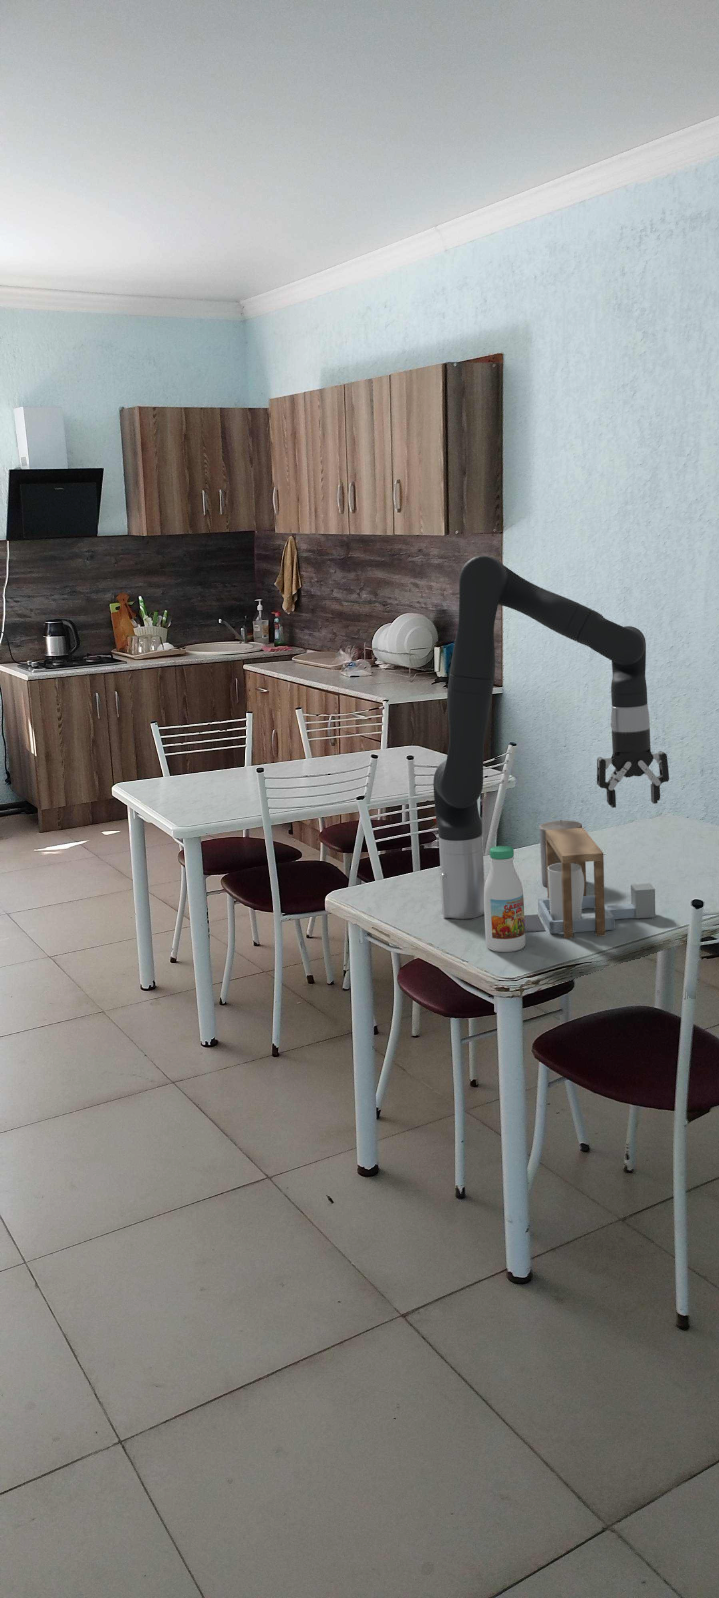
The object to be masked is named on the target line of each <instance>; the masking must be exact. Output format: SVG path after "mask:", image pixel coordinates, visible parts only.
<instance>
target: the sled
mask: <svg viewBox="0 0 719 1598" xmlns="http://www.w3.org/2000/svg"><path fill="white" fill-rule="evenodd" d="M589 908H590V909H591V908H592V909H593V908H595V894H594V895H586V896H583V901H582V909H589ZM537 909H538V913H539V915H540V916H541V918H542V921H543V922H544V924H545V926H546V928H547V930H548V933H549V934H550V935H552V934H563V920H557V921H553V920H552V918H551V916H550V901H549V899H548V898H539V899H538V898H537ZM633 918H635V919H644V918H645V919H646V918H656V888H655V887H654V886H653V885H652V884H651V883H649V882H648V883H637V884H630V903H623V904H610V905H607V904H606V903H605V931H608V930H615V929H616V920H622V919H633ZM572 920H573V933H579V932H580V933H581V932H594V931H595V917H588V918H587V917H586V918H582V919H572ZM595 932H596V931H595Z"/></svg>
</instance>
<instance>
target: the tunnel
mask: <svg viewBox="0 0 719 1598" xmlns="http://www.w3.org/2000/svg"><path fill="white" fill-rule="evenodd" d="M545 833H546V862H547V887H546V889H547V899H549V884H548V866H550V865H552V864H555V852H556V854H557V856H558V857H559V859H560V860H561V873H562V904H563V933H562V934H563V938H564V939H573V938H574V932H573V920H572V887H571V863H575V862H577V864H578V865H580V866H581V869H582V872H583V876H584V894H583V896H587V873H586V872H587V869H586V867H587V866H586V863H588V862H593V878H594V879H593V880H594V881H593V882H594V883H593V884H594V887H593V888H594V895H595V907H594V918H595V935H596V936H597V937H606V930H605V904H606V903H605V867H604V865H605V861H604V852H603V850H601V848H600V847H599V846H598V845H597V843H596V842H595V841H594V839H593V838H592V837H591V836H590V834H589V833H588V832H587V830H586V829H585V828H584V827H582V828H573V829H558V830H545Z"/></svg>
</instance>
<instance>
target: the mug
mask: <svg viewBox="0 0 719 1598" xmlns="http://www.w3.org/2000/svg"><path fill="white" fill-rule="evenodd" d="M548 884H549V901H550V910H549V914H550V916H551V918H552V920H553V921H557V920H563V904H562V873H561V863H556V864H552V865H550V866H548ZM571 887H572V919H583V917H582V914H583V912H582V911H583V910H582V909H583V908H582V901H583V894H584V876H583V872H582V869H581V866H580V865H578V864H575V863H571Z"/></svg>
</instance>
